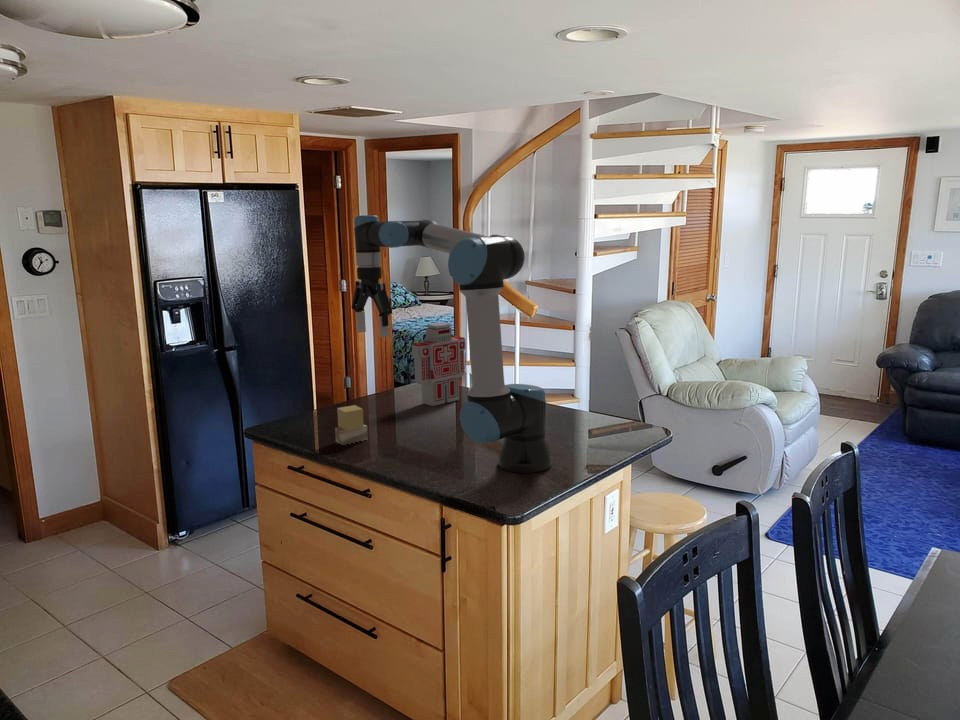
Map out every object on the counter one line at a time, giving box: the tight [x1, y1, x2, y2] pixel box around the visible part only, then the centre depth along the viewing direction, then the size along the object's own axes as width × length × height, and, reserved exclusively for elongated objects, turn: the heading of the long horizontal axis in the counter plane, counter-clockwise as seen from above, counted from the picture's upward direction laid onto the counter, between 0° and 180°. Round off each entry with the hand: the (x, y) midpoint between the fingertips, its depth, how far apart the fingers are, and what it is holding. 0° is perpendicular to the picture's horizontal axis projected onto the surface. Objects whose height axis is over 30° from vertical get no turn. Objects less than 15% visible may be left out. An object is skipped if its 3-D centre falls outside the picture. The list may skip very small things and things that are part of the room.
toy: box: [411, 322, 467, 407], centre depth 272 cm, size 22×8×30 cm, turn 132°
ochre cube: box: [337, 404, 364, 431], centre depth 228 cm, size 6×6×6 cm
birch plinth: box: [334, 424, 369, 446], centre depth 229 cm, size 4×9×5 cm, turn 127°
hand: (372, 334), depth 226 cm, fingers open, 13 cm apart
